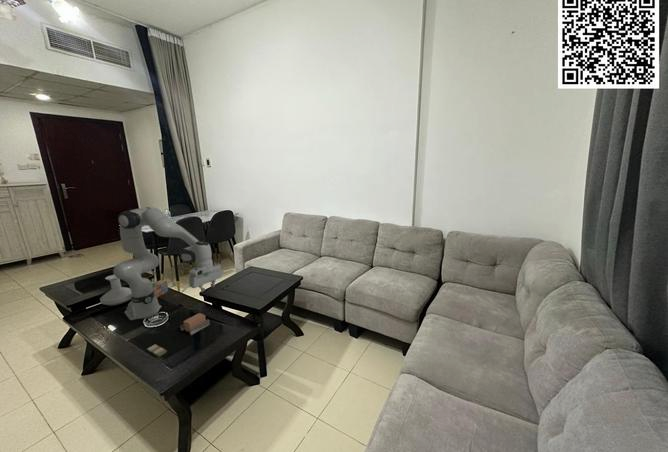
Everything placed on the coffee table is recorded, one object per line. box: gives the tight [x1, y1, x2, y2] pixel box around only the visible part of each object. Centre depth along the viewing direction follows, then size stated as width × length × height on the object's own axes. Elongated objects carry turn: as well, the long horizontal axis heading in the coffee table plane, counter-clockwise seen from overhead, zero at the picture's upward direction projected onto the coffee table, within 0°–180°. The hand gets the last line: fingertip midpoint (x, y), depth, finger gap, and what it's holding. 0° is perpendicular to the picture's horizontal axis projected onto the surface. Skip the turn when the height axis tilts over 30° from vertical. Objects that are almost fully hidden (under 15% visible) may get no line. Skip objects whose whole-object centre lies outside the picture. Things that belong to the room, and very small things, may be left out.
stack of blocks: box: [150, 279, 169, 298], centre depth 197 cm, size 21×6×12 cm, turn 169°
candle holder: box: [99, 274, 132, 306], centre depth 191 cm, size 20×20×19 cm
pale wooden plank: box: [146, 319, 211, 358], centre depth 149 cm, size 11×32×4 cm, turn 151°
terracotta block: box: [183, 312, 207, 333], centre depth 156 cm, size 6×10×6 cm, turn 151°
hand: (208, 288), depth 162 cm, fingers open, 5 cm apart
